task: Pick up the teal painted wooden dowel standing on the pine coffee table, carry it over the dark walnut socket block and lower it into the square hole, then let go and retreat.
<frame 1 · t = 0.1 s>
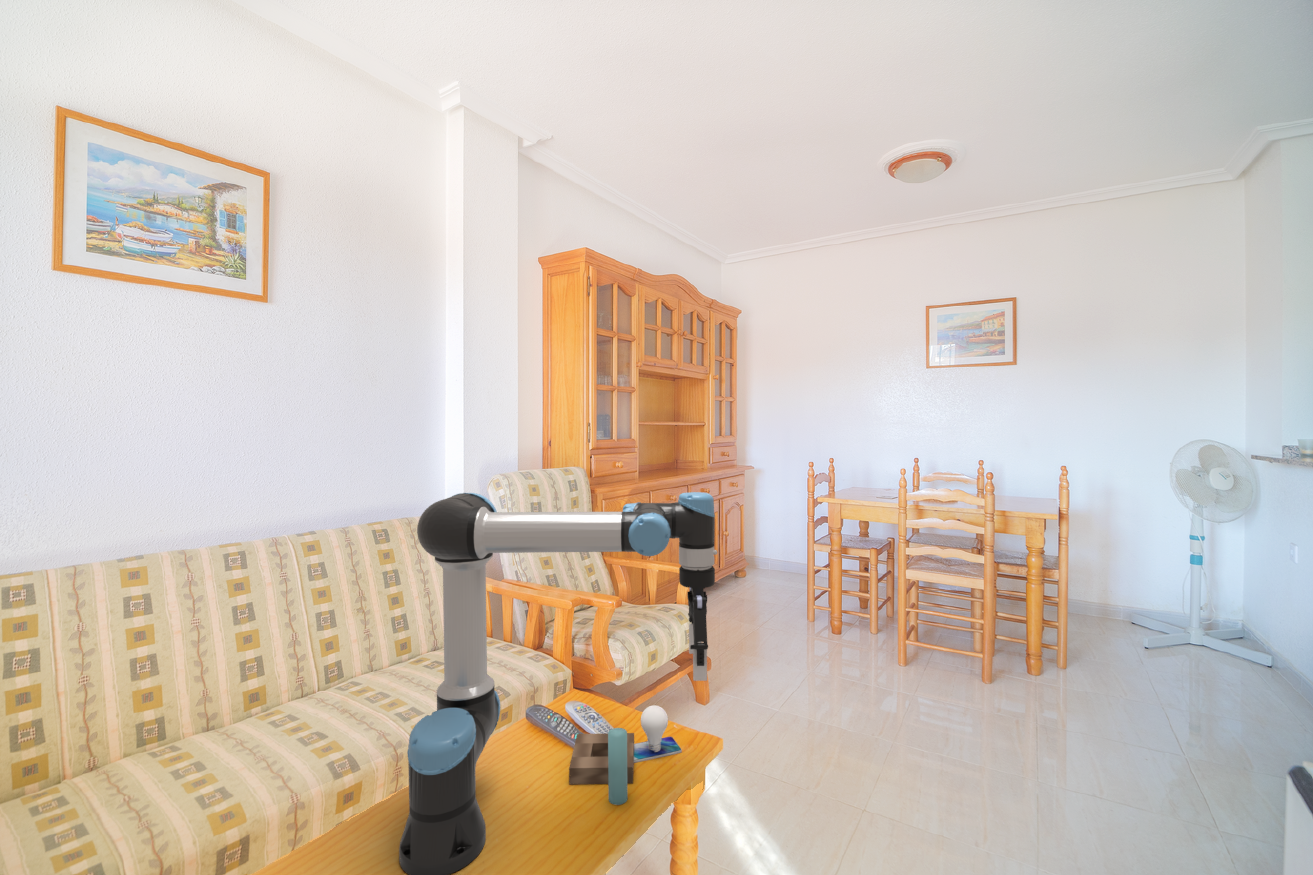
hand: (697, 665, 118), 28 cm above the table, fingers open, 13 cm apart
peg: (618, 798, 118), on the table
light bulb: (654, 752, 135), resting on smartphone
socket block: (603, 764, 130), on the table
smartphone: (648, 753, 136), on the table
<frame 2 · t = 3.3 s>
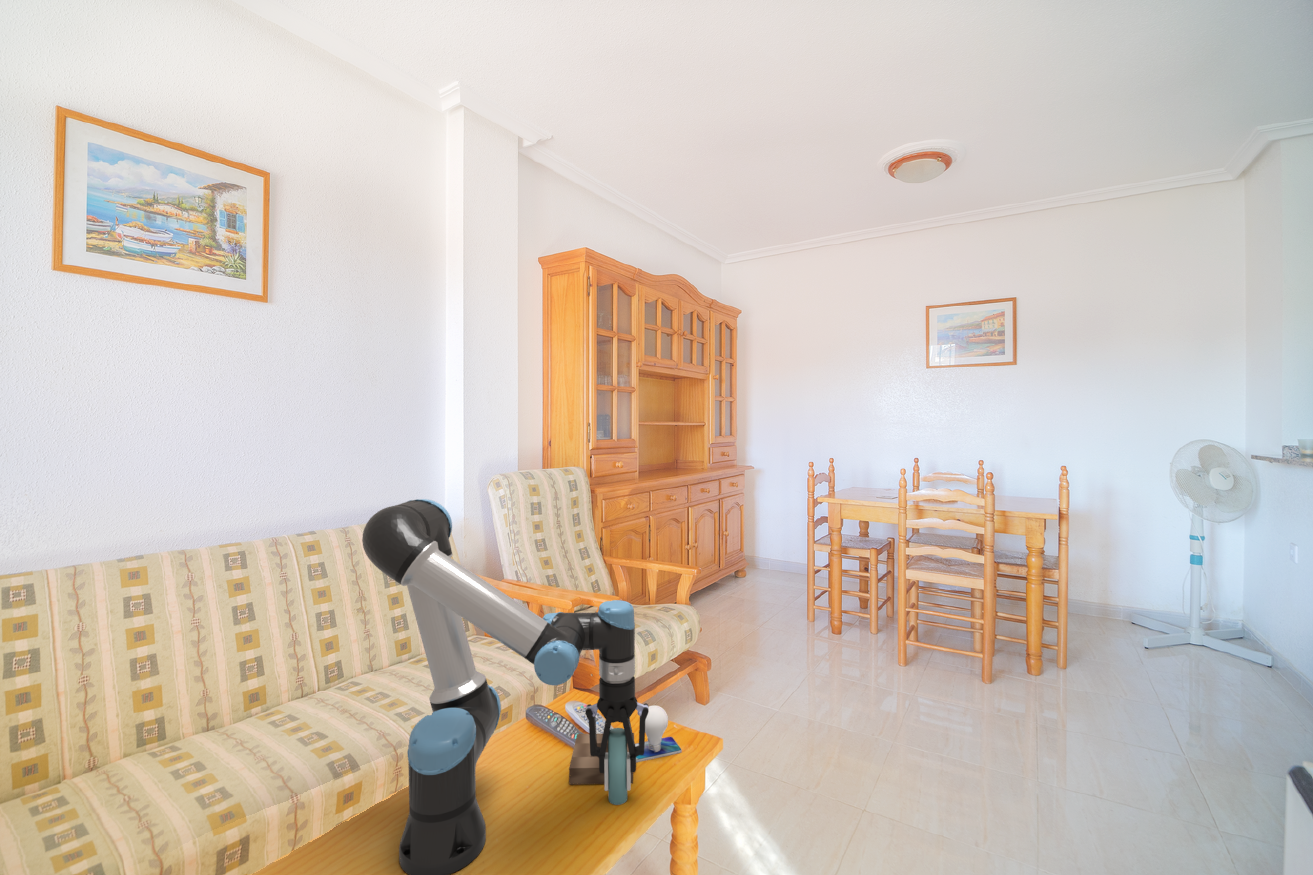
hand: (617, 786, 118), 3 cm above the table, fingers closed on peg, 4 cm apart
peg: (617, 798, 118), on the table, touching gripper
everything else where it was.
when the fingers open (4 cm above the table, at t = 8.6 s): peg stays where it is, resting in socket block.
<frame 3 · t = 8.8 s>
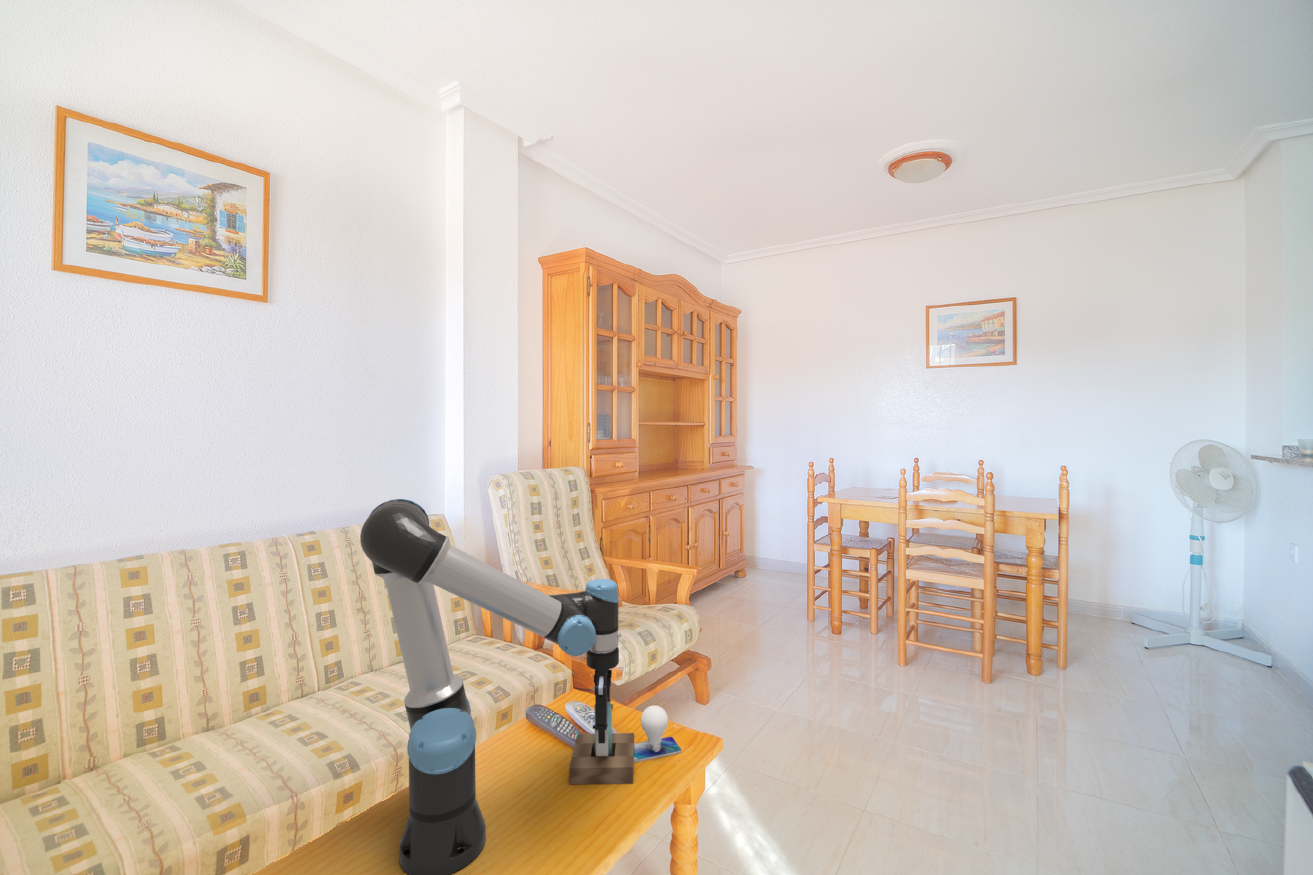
hand: (603, 746, 130), 4 cm above the table, fingers open, 6 cm apart
peg: (603, 764, 130), resting in socket block
everything else where it was.
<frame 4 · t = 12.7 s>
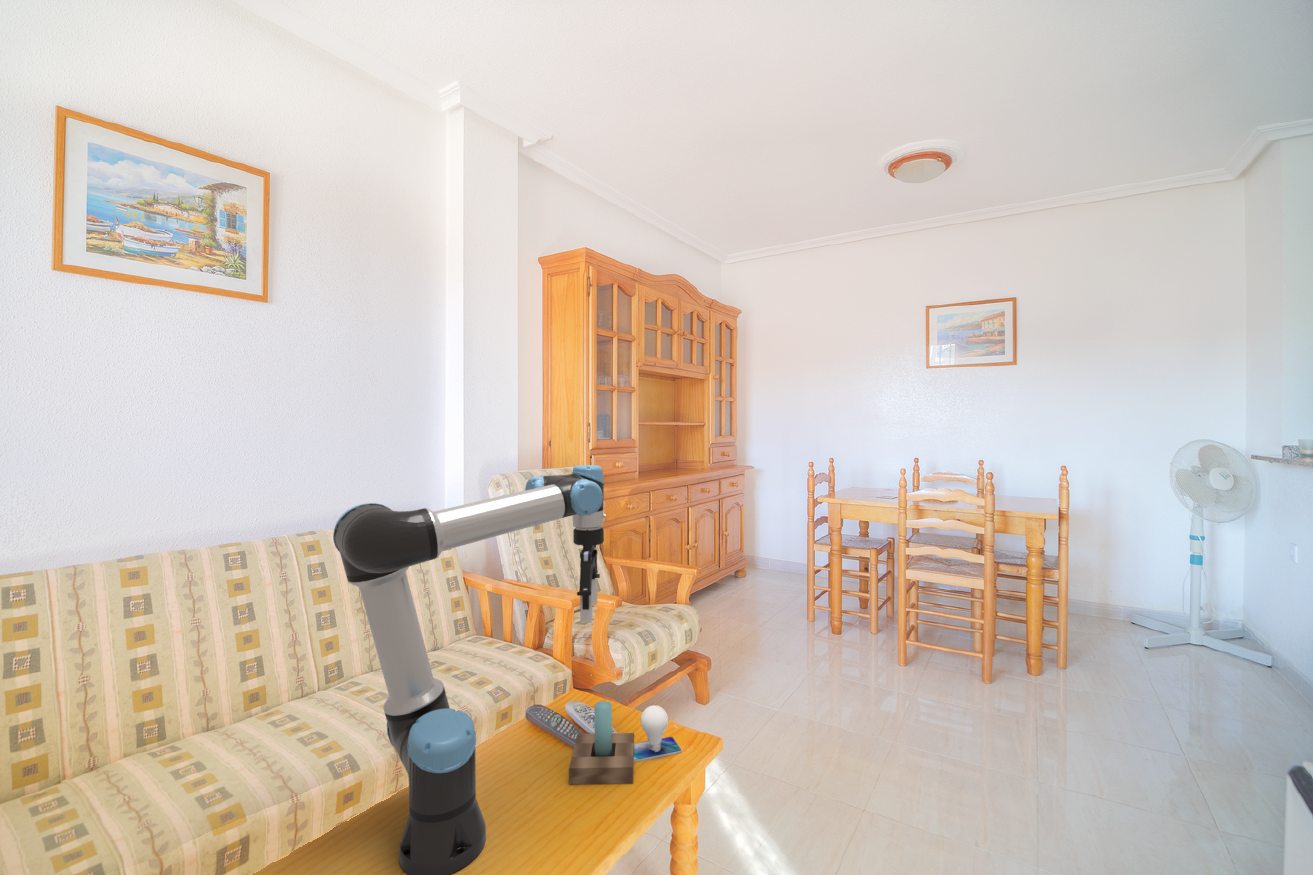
hand: (589, 612, 139), 33 cm above the table, fingers open, 13 cm apart
nothing on the table moved.
at the end: peg 0.0 cm off-centre on the socket block, point 0.0 cm above the socket block's base; peg tilted 0°; the gripper is holding nothing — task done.
